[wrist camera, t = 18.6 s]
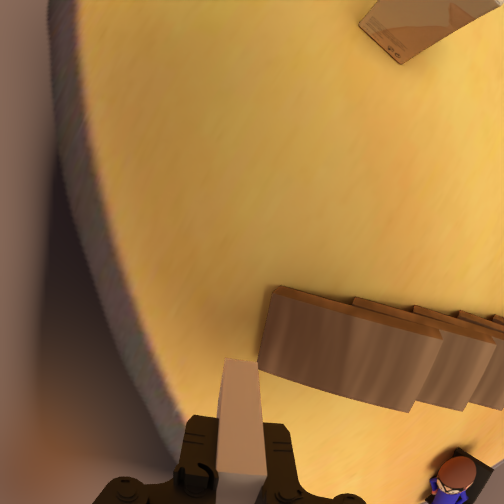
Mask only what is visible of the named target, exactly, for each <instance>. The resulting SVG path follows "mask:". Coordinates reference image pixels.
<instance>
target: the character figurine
mask: <svg viewBox="0 0 504 504" xmlns="http://www.w3.org/2000/svg"><path fill="white" fill-rule="evenodd" d="M493 471H494V469H492V468H491V467H489V466H487V465H486V464H484V463H483V462H481V461H479V460H478V459H476V458H474V457H473V456H471V455H470V454H468V453H466V452H465V451H463V450H462V449H460V448H457V449H456V450H455V452H454V455H453V458H452V459H450V460H448V461H447V462H445V463H444V464H443V465H442V467H441V468H440V470H439V472H438V475H437V477H435V478H431V479H430V483H431V487H432V494H431V495H430V496H428V497H427V498H426V499H425V501H427V502H428V503H429V504H473V503H474V502H475V500H476V499H477V497H478V496H479V494H480V493H481V491H482V489H483V488H484V486H485V484H486V483H487V481H488V479H489V478H490V476H491V474H492V472H493ZM436 482H437V484H438V488H437V484H436Z"/></svg>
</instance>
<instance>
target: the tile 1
mask: <svg viewBox="0 0 504 504" xmlns="http://www.w3.org/2000/svg"><path fill="white" fill-rule="evenodd" d="M442 343H443V338H442V336H441V333H440V331H439V329H436V328H433V327H429V326H425V325H421V324H417V323H413V322H410V321H406V320H402V319H398V318H395V317H391V316H387V315H383V314H380V313H376V312H372V311H369V310H365V309H362V308H358V307H354V306H351V305H347V304H344V303H340V302H336V301H333V300H329V299H326V298H322V297H319V296H315V295H312V294H308V293H305V292H301V291H298V290H294V289H291V288H287V287H284V286H280V287H279V288H278V289H276V290H275V291H274V292H273V293H272V297H271V302H270V306H269V311H268V315H267V320H266V324H265V329H264V333H263V338H262V342H261V346H260V351H259V355H258V359H257V362H258V369H259V370H262V371H264V372H267V373H270V374H273V375H276V376H279V377H282V378H285V379H287V380H290V381H294V382H297V383H300V384H303V385H306V386H309V387H312V388H315V389H319V390H322V391H325V392H329V393H332V394H336V395H339V396H343V397H346V398H350V399H353V400H357V401H361V402H365V403H368V404H372V405H376V406H380V407H385V408H389V409H393V410H397V411H402V412H406V413H409V411H410V409H411V408H412V406H413V404H414V402H415V400H416V398H417V396H418V394H419V392H420V390H421V388H422V386H423V384H424V382H425V380H426V378H427V376H428V374H429V372H430V370H431V368H432V366H433V363H434V361H435V359H436V357H437V354H438V352H439V350H440V347H441V345H442Z"/></svg>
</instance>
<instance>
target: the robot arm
mask: <svg viewBox="0 0 504 504" xmlns="http://www.w3.org/2000/svg"><path fill="white" fill-rule="evenodd" d="M291 443H292V442H291V437H290V432H289V431H288V430H287V428H286V427H285V426H284V424H278V423H264V422H263V421H262V409H261V397H260V385H259V374H258V362H252V361H244V360H236V359H229V358H225V362H224V368H223V374H222V381H221V387H220V393H219V399H218V409H217V418H213V417H206V416H199V415H193V416H192V417H191V418H190V419H189V420H188V422H187V424H186V429H185V434H184V439H183V444H182V449H181V454H180V460H179V464H178V465H176V467H175V469H174V472H173V478H172V479H171V480H169V481H167V482H165V483H160V484H147V485H144V484H143V483H142V482H140V481H139V480H137V479H135V478H131V477H118V478H115V479H113V480H111V481H110V482H109V483H108V484H107V485H106V487H105V488H104V489H103V490H102V492H101V493H100V495H99V496H98V497H97V498H96V500H95V501H94V502H93V503H92V504H366V502H365V501H364V500H363V499H362V498H361V497H359V496H357V495H355V494H349V493H346V494H340V495H338V496H336V497H334V498H333V499H329V498H324V497H319V496H315V495H312V494H310V493H308V492H307V491H305V490H304V489H303V488H302V486H301V485H300V483H299V480H298V476H297V470H296V465H295V459H294V453H293V448H292V445H291Z"/></svg>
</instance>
